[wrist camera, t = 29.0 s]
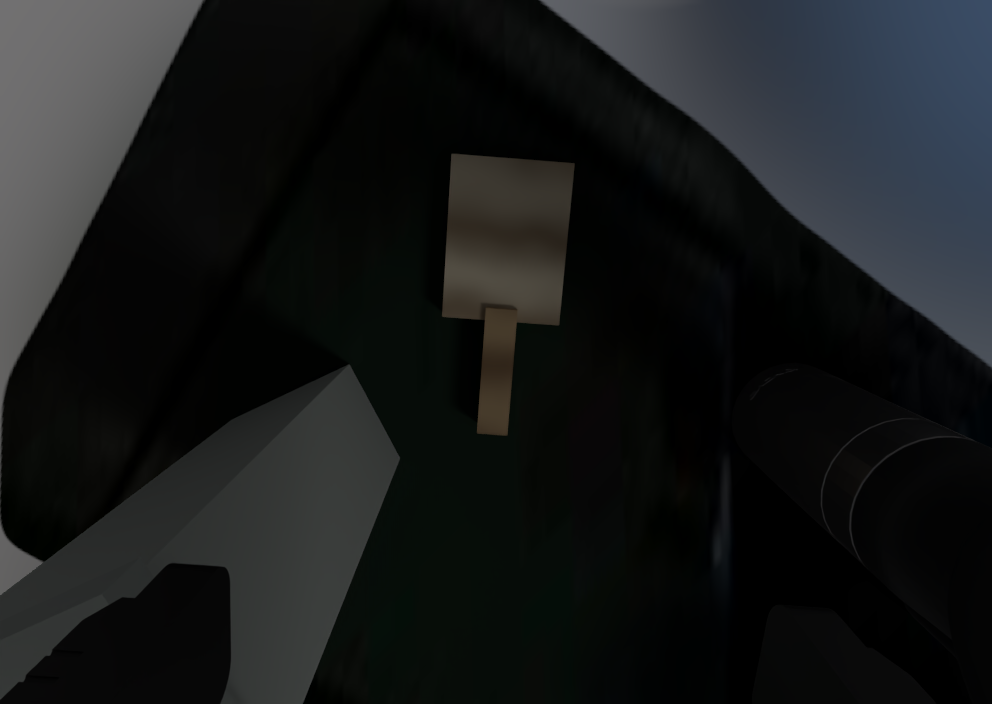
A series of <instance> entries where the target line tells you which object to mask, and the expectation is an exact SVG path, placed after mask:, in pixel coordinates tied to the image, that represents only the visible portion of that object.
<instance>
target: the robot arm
mask: <svg viewBox="0 0 992 704" xmlns="http://www.w3.org/2000/svg"><path fill="white" fill-rule="evenodd" d="M732 430H733V435H734V437H735V440H736V443H737V444H738V446H739V447H740V449H741V450H742V452H743V453H744V454H745V455H746V456H747V457H748V458H749V459H751V460H752V461H753V462H754V463H755V464H756V465H757V466H758V467H759V468H760V469H761V470H762V471H763V472H764V473H765V474H766V475H767V476H768V477H769V478H770V479H771V480H773V481H774V482H775V483H776V484H777V485H778V486H779V487H780V488H781V489H782V490H783V491H784V492H785V493H786V494H787V495H789V496H790V497H791V498H792V499H793V500H794V501H795V502H796V503H797V504H798V505H799V506H800V507H801V508H802V509H804V510H805V511H806V512H807V513H808V514H809V515H810V516H811V517H812V518H813V519H814V520H815V521H816V522H817V523H819V524H820V525H821V526H822V527H823V528H824V529H825V530H826V531H827V532H828V533H829V534H830V535H831V536H832V537H833V538H835V539H836V540H837V541H838V542H839V543H840V544H841V545H842V546H843V547H845V548H846V549H847V550H848V551H849V552H850V553H851V554H852V555H853V556H854V557H855V558H856V559H857V560H858V561H860V562H861V563H862V564H863V565H864V566H865V567H866V568H867V569H868V570H869V571H870V572H871V573H872V574H873V575H875V576H876V577H877V578H878V579H879V580H880V581H881V582H882V583H883V584H884V585H885V586H886V587H887V588H888V589H889V590H891V591H892V592H893V593H894V594H895V595H896V596H897V597H898V598H899V599H901V600H902V601H903V602H904V603H906V604H907V605H908V606H909V607H911V608H912V609H913V610H915V611H916V612H917V613H918V614H920V615H921V616H922V617H924V618H925V619H926V620H928V621H929V622H930V623H931V624H933V625H934V626H935V627H936V628H938V629H939V630H940V631H941V632H943V633H944V634H945V635H947V636H948V637H949V638H950V639H952V642H953V646H954V650H955V653H956V657H957V660H958V663H959V666H960V669H961V672H962V675H963V678H964V681H965V684H966V687H967V690H968V693H969V696H970V698H971V701H972V704H992V448H990V447H988V446H985V445H983V444H981V443H978V442H976V441H974V440H972V439H969V438H967V437H965V436H963V435H961V434H959V433H956V432H954V431H952V430H950V429H948V428H945V427H943V426H941V425H939V424H937V423H934V422H932V421H930V420H928V419H925V418H923V417H921V416H919V415H917V414H915V413H912V412H910V411H908V410H906V409H904V408H902V407H899V406H897V405H895V404H893V403H891V402H889V401H887V400H884V399H882V398H880V397H878V396H876V395H874V394H871V393H869V392H867V391H865V390H863V389H861V388H858V387H856V386H854V385H852V384H850V383H848V382H846V381H844V380H841V379H839V378H837V377H835V376H833V375H831V374H828V373H826V372H824V371H822V370H820V369H817V368H815V367H812V366H809V365H806V364H799V363H786V364H780V365H776V366H773V367H770V368H768V369H766V370H764V371H762V372H760V373H759V374H757V375H756V376H755V377H754V378H752V379H751V380H750V381H749V382H748V383H747V384H746V385H745V387H744V388H743V389H742V390H741V392H740V394H739V396H738V397H737V399H736V402H735V405H734V408H733V412H732ZM230 666H231V609H230V576H229V572H228V570H227V569H226V568H225V567H222V566H209V565H195V564H181V563H170V564H168V565H167V566H165V567H164V568H163V569H162V570H161V571H160V572H159V573H158V574H157V575H156V576H155V578H154V579H153V580H152V581H151V582H150V583H149V584H148V585H147V586H146V587H145V588H144V589H143V590H142V591H141V592H140V593H139V594H138V595H137V596H136V597H135V598H127V597H122V598H120V599H118V600H116V601H115V602H113V603H111V604H109V605H108V606H106V607H104V608H103V609H101V610H99V611H97V612H96V613H94V614H92V615H90V616H89V617H87V618H85V619H83V620H82V621H81V622H80V623H79V624H78V625H77V626H76V627H75V628H74V629H73V630H72V631H71V632H70V633H69V634H68V635H66V636H65V637H64V638H63V639H62V640H61V641H60V642H59V643H58V644H57V645H56V646H55V647H54V648H53V649H52V653H51V655H50V656H45V657H44V658H43V659H42V660H41V661H40V662H39V663H38V664H37V665H36V666H35V667H33V668H32V669H31V670H30V671H29V672H28V673H27V674H26V677H25V680H24V681H23V682H18V683H17V684H16V685H15V686H14V687H13V688H12V689H11V690H10V691H9V692H8V693H7V694H6V695H5V696H4V697H3V698H2V699H1V700H0V704H220V703H221V701H222V698H223V696H224V693H225V690H226V686H227V682H228V678H229V673H230ZM752 704H936V703H935V701H934V700H933V699H932V698H931V697H930V696H929V695H928V694H927V693H926V692H925V691H924V689H923V688H922V687H921V686H920V685H919V684H918V683H917V682H916V681H915V680H914V679H913V677H912V676H911V675H909V674H908V673H906V672H905V671H904V670H902V669H901V668H899V667H898V666H897V665H895V664H894V663H892V662H891V661H890V660H888V659H887V658H885V657H884V656H883V655H881V654H880V653H878V652H877V651H876V650H874V649H873V648H866V647H865V645H864V644H863V643H862V642H861V641H860V640H859V638H858V637H857V636H856V635H855V634H854V633H853V632H852V630H851V629H850V628H849V627H848V626H847V625H846V624H845V622H844V621H843V620H842V619H841V618H840V617H839V616H838V615H837V614H836V613H835V612H834V611H833V610H831V609H828V608H817V607H803V606H789V605H776V606H774V607H773V608H772V609H771V611H770V613H769V615H768V619H767V624H766V629H765V634H764V639H763V644H762V649H761V654H760V659H759V664H758V669H757V674H756V679H755V684H754V689H753V695H752Z"/></svg>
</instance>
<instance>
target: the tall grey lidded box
mask: <svg viewBox="0 0 992 704" xmlns="http://www.w3.org/2000/svg"><path fill="white" fill-rule="evenodd" d="M399 459H400V457H399V455H398V454H397V452H396V450H395V448H394V446H393V444H392V442H391V441H390V439H389V437H388V435H387V433H386V431H385V429H384V428H383V426H382V424H381V422H380V420H379V418H378V416H377V415H376V413H375V411H374V409H373V407H372V405H371V404H370V402H369V400H368V398H367V396H366V394H365V392H364V391H363V389H362V387H361V385H360V383H359V381H358V379H357V378H356V376H355V374H354V372H353V370H352V368H351V366H350V365H349V364H348V365H346V366H344V367H342V368H340V369H338V370H336V371H334V372H331V373H329V374H327V375H325V376H323V377H321V378H319V379H317V380H315V381H312V382H310V383H308V384H306V385H304V386H302V387H300V388H298V389H295V390H293V391H291V392H289V393H287V394H285V395H283V396H281V397H279V398H276V399H274V400H272V401H270V402H268V403H266V404H264V405H262V406H259V407H257V408H255V409H253V410H251V411H249V412H247V413H245V414H243V415H240V416H238V417H236V418H234V419H232V420H231V421H229V422H228V423H227V424H225V425H224V426H223V427H221V428H220V429H219V430H218V431H216V432H215V433H214V434H212V435H211V436H210V437H208V438H207V439H206V440H204V441H203V442H202V443H200V444H199V445H198V446H196V447H195V448H194V449H193V450H191V451H190V452H189V453H187V454H186V455H185V456H183V457H182V458H181V459H179V460H178V461H177V462H175V463H174V464H173V465H171V466H170V467H169V468H168V469H166V470H165V471H164V472H162V473H161V474H160V475H158V476H157V477H156V478H154V479H153V480H152V481H150V482H149V483H148V484H146V485H145V486H144V487H142V488H141V489H140V490H139V491H137V492H136V493H135V494H133V495H132V496H131V497H129V498H128V499H127V500H125V501H124V502H123V503H121V504H120V505H119V506H117V507H116V508H115V509H114V510H112V511H111V512H110V513H108V514H107V515H106V516H104V517H103V518H102V519H100V520H99V521H98V522H96V523H95V524H94V525H92V526H91V527H90V528H89V529H87V530H86V531H85V532H83V533H82V534H81V535H79V536H78V537H77V538H75V539H74V540H73V541H71V542H70V543H69V544H67V545H66V546H65V547H63V548H62V549H61V550H60V551H58V552H57V553H56V554H54V555H53V556H52V557H50V558H49V559H48V560H46V561H45V562H44V563H42V564H41V565H40V566H38V567H37V568H36V569H35V570H33V571H32V572H31V573H29V574H28V575H27V576H25V577H24V578H23V579H21V580H20V581H19V582H17V583H16V584H15V585H13V586H12V587H11V588H10V589H8V590H7V591H6V592H4V593H3V594H2V595H0V700H1V699H2V698H3V697H4V696H5V695H6V694H7V693H8V692H9V691H10V690H11V689H12V688H13V687H14V686H15V685H16V684H17V683H18V682H23V681H24V680H25V677H26V674H27V673H28V672H29V671H30V670H31V669H32V668H33V667H35V666H36V665H37V664H38V663H39V662H40V661H41V660H42V659H43V658H44V657H45V656H50V655H51V653H52V649H53V648H54V647H55V646H56V645H57V644H58V643H59V642H60V641H61V640H62V639H63V638H64V637H65V636H66V635H68V634H69V633H70V632H71V631H72V630H73V629H74V628H75V627H76V626H77V625H78V624H79V623H80V622H81V621H82V620H83V619H85V618H87V617H89V616H90V615H92V614H94V613H96V612H97V611H99V610H101V609H103V608H104V607H106V606H108V605H109V604H111V603H113V602H115V601H116V600H118V599H120V598H122V597H127V598H135V597H136V596H137V595H138V594H139V593H140V592H141V591H142V590H143V589H144V588H145V587H146V586H147V585H148V584H149V583H150V582H151V581H152V580H153V579H154V578H155V576H156V575H157V574H158V573H159V572H160V571H161V570H162V569H163V568H164V567H165V566H167V565H168V564H170V563H181V564H195V565H209V566H222V567H225V568H226V569H227V570H228V572H229V576H230V609H231V666H230V673H229V678H228V682H227V686H226V690H225V693H224V696H223V698H222V701H221V703H220V704H303V701H304V699H305V696H306V694H307V691H308V689H309V686H310V684H311V681H312V679H313V676H314V674H315V671H316V669H317V666H318V664H319V661H320V659H321V656H322V654H323V651H324V648H325V646H326V643H327V641H328V638H329V636H330V633H331V631H332V628H333V626H334V623H335V621H336V618H337V616H338V613H339V611H340V608H341V606H342V603H343V601H344V598H345V596H346V593H347V590H348V588H349V585H350V583H351V580H352V578H353V575H354V573H355V570H356V568H357V565H358V563H359V560H360V558H361V555H362V553H363V550H364V548H365V545H366V543H367V540H368V538H369V535H370V532H371V530H372V527H373V525H374V522H375V520H376V517H377V515H378V512H379V510H380V507H381V505H382V502H383V500H384V497H385V495H386V492H387V490H388V487H389V485H390V482H391V479H392V477H393V474H394V472H395V469H396V467H397V464H398V462H399Z"/></svg>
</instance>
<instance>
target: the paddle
mask: <svg viewBox="0 0 992 704" xmlns="http://www.w3.org/2000/svg"><path fill="white" fill-rule="evenodd" d="M574 166H575V163H564V162H551V161H539V160H526V159H513V158H501V157H488V156H475V155H462V154H451V172H450V189H449V206H448V224H447V241H446V259H445V276H444V294H443V311H442V317H452V318H465V319H479V320H485V328H484V342H483V356H482V370H481V383H480V397H479V411H478V425H477V433H479V434H493V435H507V432H508V420H509V408H510V395H511V383H512V371H513V359H514V347H515V335H516V323H517V322H520V323H533V324H547V325H559V320H560V310H561V299H562V289H563V279H564V268H565V258H566V248H567V238H568V227H569V217H570V207H571V196H572V186H573V176H574Z"/></svg>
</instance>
